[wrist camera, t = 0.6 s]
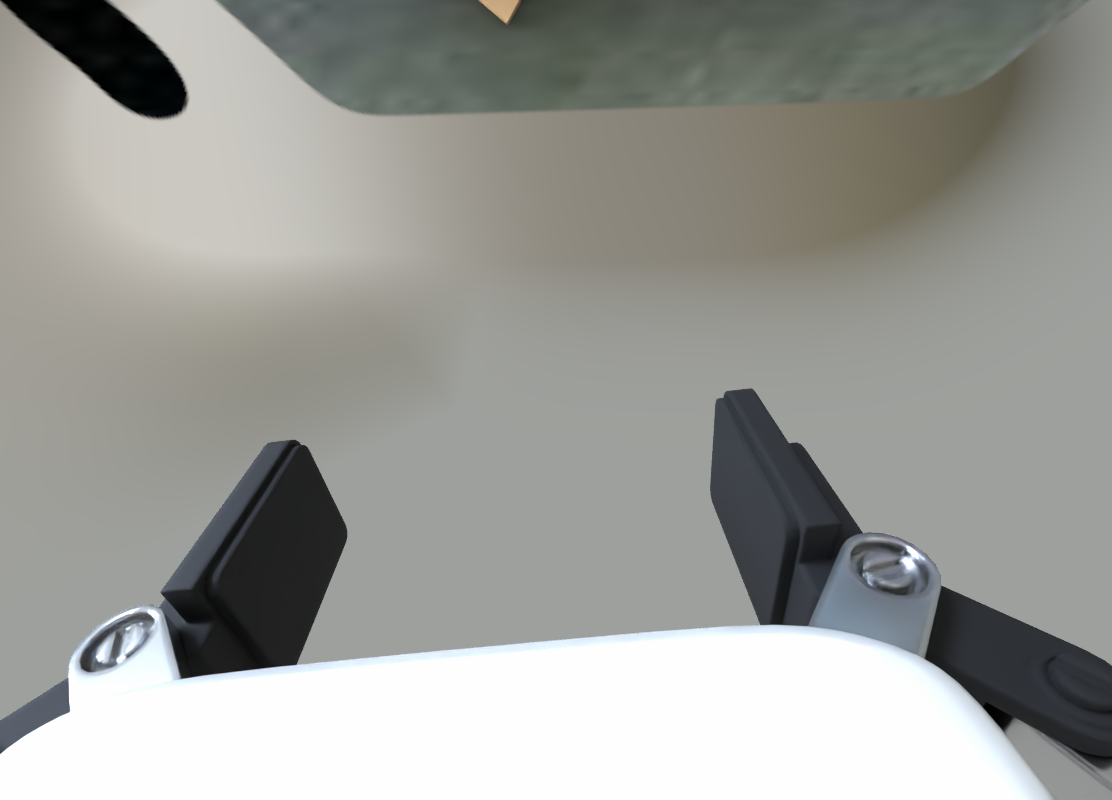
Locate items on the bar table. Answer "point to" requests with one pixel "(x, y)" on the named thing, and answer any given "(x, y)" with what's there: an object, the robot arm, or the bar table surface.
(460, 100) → the bar table surface
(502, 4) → the board
